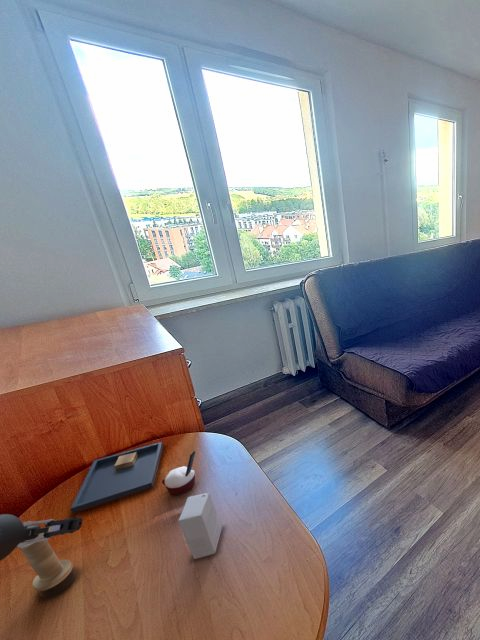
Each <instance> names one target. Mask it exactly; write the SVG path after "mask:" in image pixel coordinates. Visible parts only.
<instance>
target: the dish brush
mask: <svg viewBox="0 0 480 640" xmlns="http://www.w3.org/2000/svg"><path fill="white" fill-rule="evenodd" d="M43 534H44V533H42V534H39V535H38V537H37V538H35V539H39V538H41V537H42V536H43ZM32 540H34V539H32ZM27 541H29V540H27ZM19 550H21V552H22V553H23V555H24V557H25V558H26V560H27V561H28V562H29V564H30V565H31V567H32V569H33V570H34V572H35V573H36V576H35V577H34V579H32V587H33V588H34V590H35V591H37V593H38V594H39V596H40V597H41V598H42V599H51V598H54V597H57V596H58V595H60V594H62V593H63V592H64V591H66V590H67V589H68V588H70V587H71V585H72V584H73V583H74V582H75V580H76V579H77V575H78V574H77V572H76V570H75V568H74V566H73V564H72V562H71V560H70V559H59V557H58V556H57V554H56V553H55V550H54V549H53V548H52V546H51V544H50V542H49V541H48V540H45V541H40V542H35V543H30V544H28V545H26V546H23V547H19Z"/></svg>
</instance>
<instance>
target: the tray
mask: <svg viewBox="0 0 480 640" xmlns="http://www.w3.org/2000/svg"><path fill="white" fill-rule="evenodd" d="M163 449H164V443H163V441H159V442H155V443H152V444H148V445H144V446H141V447H137V448H133V449H130V450H127V451H122V452H120V453H115V454H112V455H109V456H105V457H101V458H98V459H94V460H93V461H92V463H91V466H90V468H89V469H88V472H87V474H86V476H85V478H84V480H83V482H82V484H81V486H80V488H79V490H78V492H77V494H76V496H75V498H74V500H73V502H72V504H71V506H70V511H71V513H72V514H75V513H79V512H82V511H84V510H88V509H91V508H94V507H97V506H99V505H103V504H105V503H106V504H107V503H108V502H112V501H115V500H118V499H122V498H124V497H128V496H130V495H134V494H137V493H140V492H142V491H145V490H148V489H152V488H154V486H155V481H156V477H157V473H158V469H159V465H160V461H161V457H162V453H163ZM134 452H137V455H138V457H137V459H136V461H135V464H134V465H133V466H129V467H125V468H122V469H118V470H116V469H115V467H114V465H115V463H116V461H117V459H118V458H119V456H123V455H127V454H131V453H134Z"/></svg>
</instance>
